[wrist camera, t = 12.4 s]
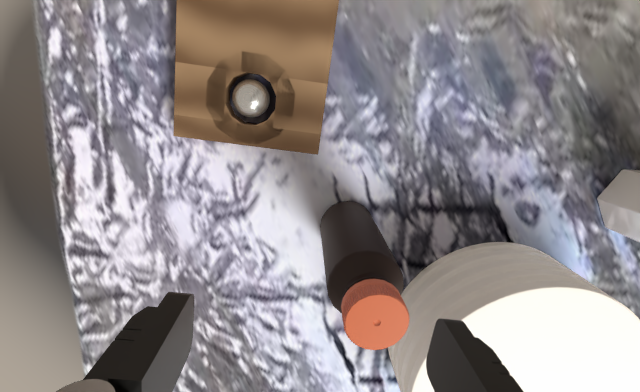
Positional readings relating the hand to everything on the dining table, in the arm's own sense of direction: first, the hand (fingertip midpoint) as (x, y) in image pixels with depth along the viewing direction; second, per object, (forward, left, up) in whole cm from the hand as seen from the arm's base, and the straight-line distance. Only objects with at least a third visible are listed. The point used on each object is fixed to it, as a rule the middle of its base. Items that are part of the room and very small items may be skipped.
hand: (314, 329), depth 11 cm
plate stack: (+22, +28, -32) cm, 48 cm away
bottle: (+8, +6, -32) cm, 34 cm away
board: (-11, -7, -32) cm, 35 cm away
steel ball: (-6, -7, -30) cm, 31 cm away
